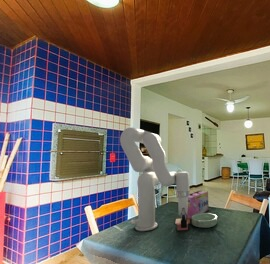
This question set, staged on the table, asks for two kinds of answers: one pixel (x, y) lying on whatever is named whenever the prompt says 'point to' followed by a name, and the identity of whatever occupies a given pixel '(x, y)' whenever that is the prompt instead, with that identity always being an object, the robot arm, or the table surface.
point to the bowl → (204, 220)
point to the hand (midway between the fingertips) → (184, 224)
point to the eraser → (180, 227)
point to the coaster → (180, 221)
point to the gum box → (197, 203)
